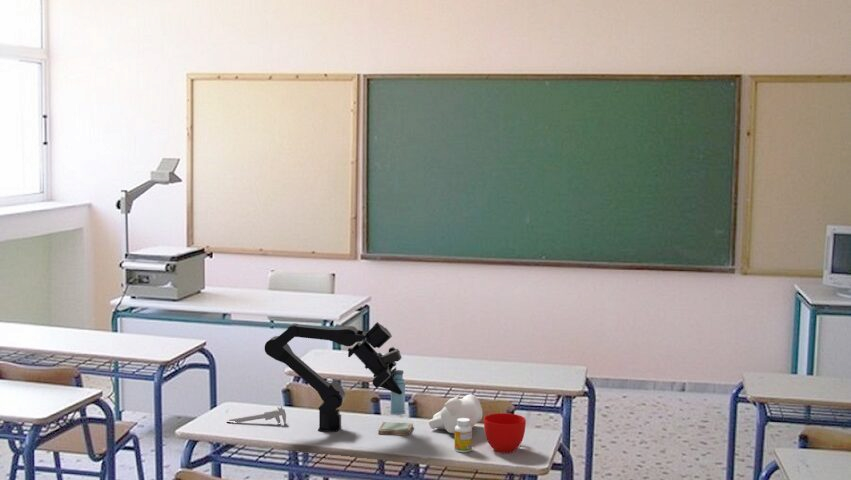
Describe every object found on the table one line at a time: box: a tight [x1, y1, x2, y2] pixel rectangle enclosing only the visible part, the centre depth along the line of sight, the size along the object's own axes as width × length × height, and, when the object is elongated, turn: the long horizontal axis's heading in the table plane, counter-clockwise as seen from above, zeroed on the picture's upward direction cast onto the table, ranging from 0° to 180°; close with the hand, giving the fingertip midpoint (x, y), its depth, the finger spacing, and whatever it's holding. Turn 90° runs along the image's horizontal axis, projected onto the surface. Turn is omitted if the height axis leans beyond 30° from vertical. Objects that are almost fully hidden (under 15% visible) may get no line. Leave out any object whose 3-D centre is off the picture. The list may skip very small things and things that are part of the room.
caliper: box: [228, 405, 287, 424], centre depth 341 cm, size 20×1×6 cm, turn 89°
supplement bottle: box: [453, 418, 473, 453], centre depth 313 cm, size 5×5×10 cm
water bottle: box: [389, 369, 406, 416], centre depth 332 cm, size 5×5×14 cm
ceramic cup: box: [483, 412, 527, 454], centre depth 315 cm, size 13×17×10 cm
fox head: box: [428, 393, 483, 435], centre depth 333 cm, size 13×17×20 cm
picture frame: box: [377, 421, 414, 436], centre depth 334 cm, size 10×10×1 cm
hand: (402, 391), depth 332 cm, fingers closed on water bottle, 5 cm apart
